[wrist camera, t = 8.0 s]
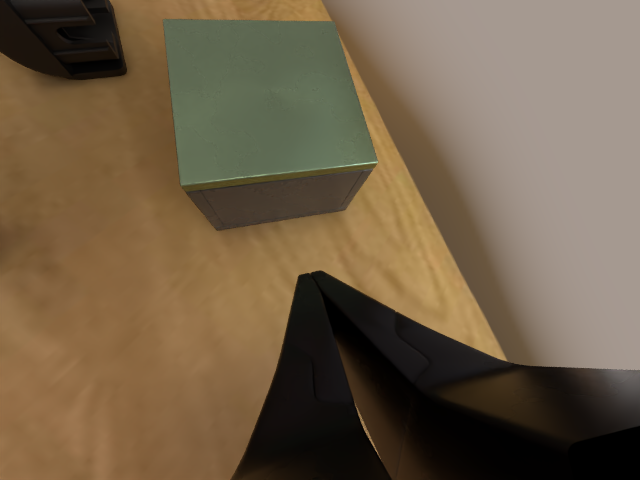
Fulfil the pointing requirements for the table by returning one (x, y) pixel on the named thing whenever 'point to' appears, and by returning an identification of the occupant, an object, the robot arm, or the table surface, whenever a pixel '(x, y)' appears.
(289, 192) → the bin
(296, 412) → the robot arm
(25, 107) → the table surface
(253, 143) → the lid
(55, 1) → the end cap
